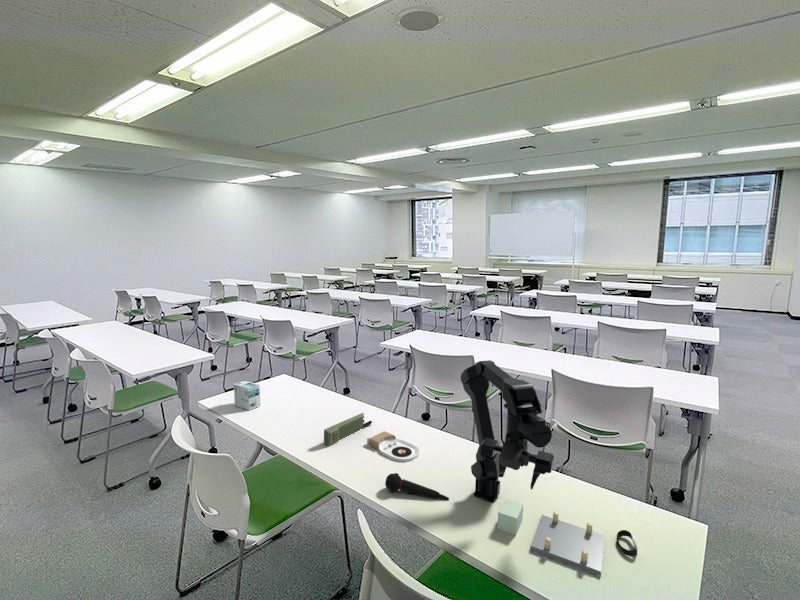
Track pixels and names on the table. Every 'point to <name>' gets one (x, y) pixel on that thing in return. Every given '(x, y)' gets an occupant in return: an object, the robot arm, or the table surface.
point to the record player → (392, 446)
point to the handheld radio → (344, 429)
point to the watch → (627, 533)
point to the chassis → (569, 543)
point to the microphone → (410, 487)
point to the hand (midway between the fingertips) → (514, 483)
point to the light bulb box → (247, 395)
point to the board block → (510, 516)
